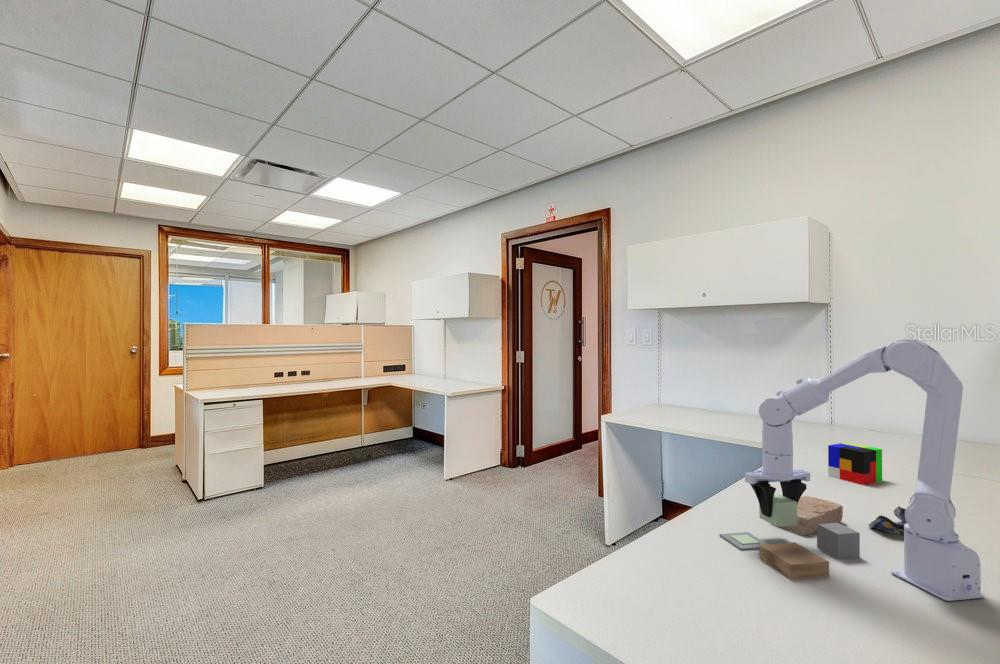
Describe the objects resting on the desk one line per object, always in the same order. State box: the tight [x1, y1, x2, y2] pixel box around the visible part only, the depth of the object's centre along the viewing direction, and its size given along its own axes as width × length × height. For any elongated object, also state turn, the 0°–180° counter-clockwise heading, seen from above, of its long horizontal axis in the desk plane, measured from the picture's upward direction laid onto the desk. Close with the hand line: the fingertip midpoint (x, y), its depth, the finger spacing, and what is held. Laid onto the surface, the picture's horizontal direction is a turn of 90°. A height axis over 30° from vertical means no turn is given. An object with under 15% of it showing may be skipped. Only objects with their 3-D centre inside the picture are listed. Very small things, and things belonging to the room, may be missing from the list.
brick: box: [780, 495, 844, 536], centre depth 109 cm, size 17×8×5 cm, turn 118°
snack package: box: [868, 505, 907, 536], centre depth 103 cm, size 12×7×12 cm
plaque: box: [719, 531, 768, 551], centre depth 98 cm, size 7×7×1 cm
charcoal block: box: [816, 523, 861, 560], centre depth 94 cm, size 5×5×5 cm
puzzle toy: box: [827, 442, 883, 486], centre depth 144 cm, size 10×10×10 cm
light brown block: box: [759, 542, 830, 580], centre depth 88 cm, size 8×8×3 cm
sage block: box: [758, 493, 797, 528], centre depth 100 cm, size 5×5×5 cm
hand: (777, 514), depth 100 cm, fingers closed on sage block, 5 cm apart
